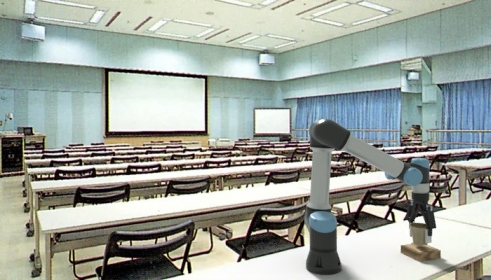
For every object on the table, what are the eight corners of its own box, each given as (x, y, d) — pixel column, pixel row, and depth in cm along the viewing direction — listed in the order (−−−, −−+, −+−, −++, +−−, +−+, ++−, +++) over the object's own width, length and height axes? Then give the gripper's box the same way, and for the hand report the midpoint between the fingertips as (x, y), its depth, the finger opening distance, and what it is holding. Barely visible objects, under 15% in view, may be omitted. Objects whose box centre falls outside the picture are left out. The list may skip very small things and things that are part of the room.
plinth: (419, 261, 170) (419, 253, 169) (400, 252, 181) (400, 244, 181) (440, 257, 173) (440, 249, 173) (421, 249, 185) (421, 241, 184)
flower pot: (434, 247, 171) (434, 228, 171) (411, 246, 173) (411, 228, 173) (428, 240, 180) (428, 222, 180) (407, 240, 182) (407, 222, 182)
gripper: (445, 195, 166) (445, 245, 167) (410, 187, 187) (410, 231, 188) (432, 196, 164) (431, 247, 165) (397, 188, 185) (397, 233, 186)
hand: (420, 239), depth 177 cm, fingers closed on flower pot, 9 cm apart
